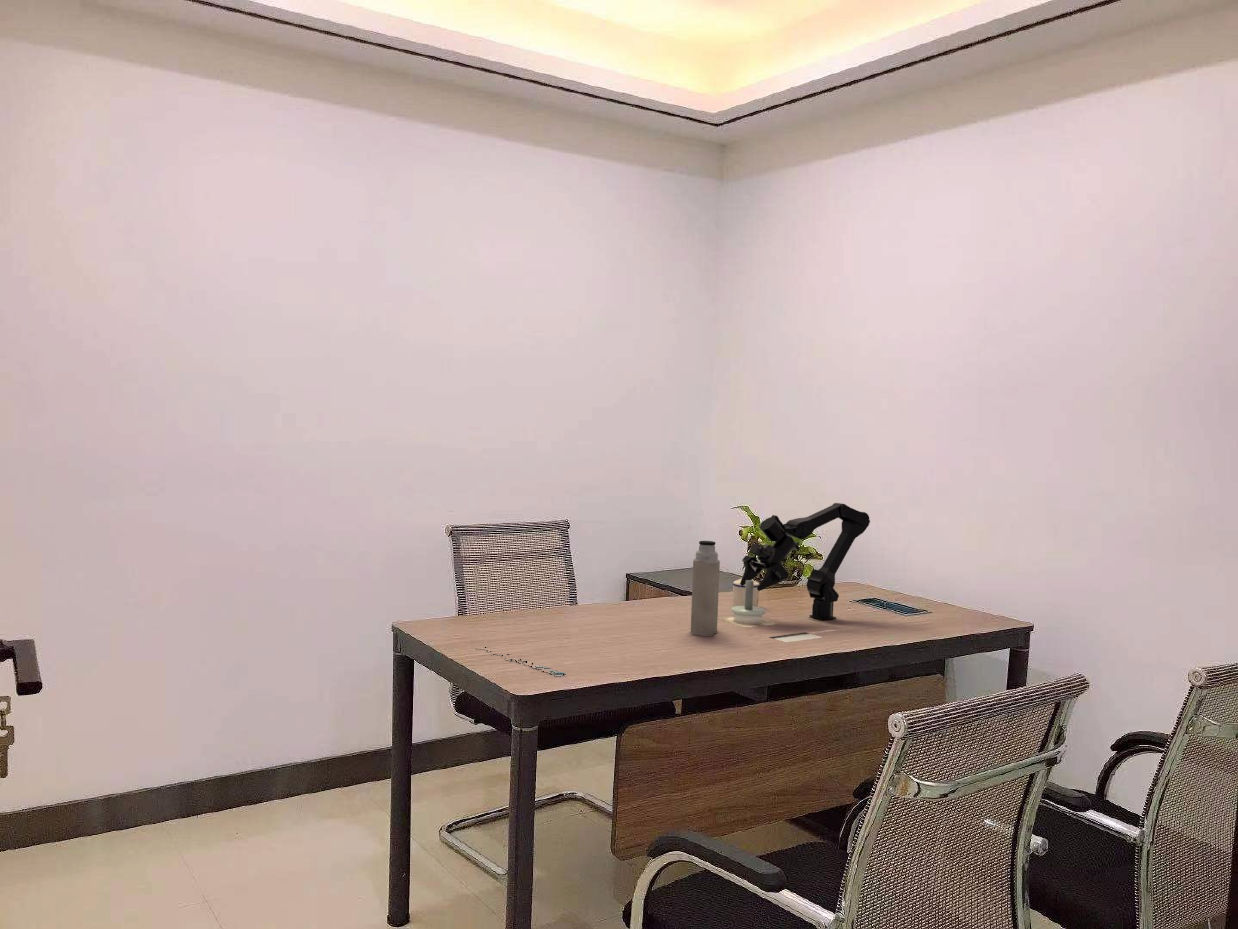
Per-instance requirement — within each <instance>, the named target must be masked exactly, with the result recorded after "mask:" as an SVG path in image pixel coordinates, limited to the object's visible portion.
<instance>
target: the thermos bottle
mask: <svg viewBox="0 0 1238 929" xmlns="http://www.w3.org/2000/svg"><path fill="white" fill-rule="evenodd" d="M698 544H699V546H698V550H697V551H696V552H695V555H694V556H695V558H693V562H692V580H691V582H692V587H691V614H690V633H691V635H694V634H695V635H694V636H699V637H712V636H714V635H716V634H717V632H718V619H719V618H718V613H719V612H718V611H719V592H720V590H719V589H720V588H719V587H720V567H721V564H720V563H721V562H720V561H721V560H719V559H718V556H719V554H718V552H717V551H716V541H712V540H700V541H698Z"/></svg>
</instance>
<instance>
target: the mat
mask: <svg viewBox="0 0 1238 929" xmlns="http://www.w3.org/2000/svg"><path fill="white" fill-rule="evenodd" d="M768 638H770V639H773V640H777V641H780V642H783V643H793V642H799V641H808V640H815V639H821V638H823V637H822V636H820V635H816V634H812V633H808V632H799V633H792V634H791V633H790V634H783V635H782V634H781V635H775V636H769V637H768Z"/></svg>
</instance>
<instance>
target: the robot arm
mask: <svg viewBox="0 0 1238 929" xmlns="http://www.w3.org/2000/svg"><path fill="white" fill-rule="evenodd" d="M836 519H839V520H841V531H840V534H839V536H838V537H837V539H836V541H835V543H834V544H833V546H832V548H831V550H830V552H829V554H828V555H827V557H826V559H825V560H824V562H823V564H822V566H821V567H820V568H819V569H815V568H813V569H812V570H811V571H810V572H811V573H810V574H809V576H808V577H807V578H806V580H807V582H806V585H805V586H806V589H807V591H808V594H809V598H812V599H813V600H812V601H813V602H812V610H811V612H812V613H811V614H809V618H813V619H818V620H820V619H821V621H827V619H828V620H835V619H837V616H834V603H835V602H837V601H839V600H838V599H839V597H840V595H839V593H838V592H837V591H836V589H835V584H836V573H837V571H838V570H839V568H840V566H841V564H842V563H843V561H844V559H845V558H846V555H847V554H848V552H849V551H850V548H851V547H852V545H853V543H854V541H855V540H856V539H857V537H859V536H861V535H862V534H864V533H865V531H866V530H867V528H868V527H869V526H870V524H871V520H870V516H869V514H868V513H867V512H866V511H859V510H856V509H855V508H852V507H850V506H848V505H847V504H845V503H841V502H834V503H833V504H831V505H829V506H828V507H825V508H824V509H821V510H819V511H817V512H815V513H813V514H811V515H808V516H805V517H798V518H793V519H790V520H788V521H787V522H786V523H783V522H782V521H781V520H780V518H779V516H778V515H776V514H773V515H772V516H770V517H767V518H766V519H764V520H763V521H762V522H760V525H759V529H760V531H761V532H762V533H763V534H764V536H765V537H766V538H767V539H768V540H769V542H773V544H772V545H770V544H768V543H765V544H764V545H763V544H759V543H756V542H752V544H751V547H750V548H749V551H748V553H750V554H753V555H755V556H756V557H755V556H753V555H745V556H744V557H743V558H742V559H741V562H743V565H744V571H743V573H742V574H743V575H742V577H741V578H742V580H741V582H740V585H741V586H743V585H745V584H746V580H752V579H753V580H754V579H755V578H757V577H758V576H759V574H760V573H761V572H762V571H766V574H765V575H764V576H763V579H762V580H761V581H760V582H759V586H758V587H757V590H758V591H759V592H760V591H762V590H765V589H768V588H769V587H771V586H773V585H776V584H780V583H783V582H786V581H787V580H788V579H789V578H790V572H789V571H788V570H787V569H786V567H785V566H784V565H783V564H785V563H786V562H787V559H786V558H787V557H788V556H789V555H790V553H791V552H792V551H798V552H799V551H800V545H799V544H800V543H799V542H798V541H796V540H795V539H797V540H805V539H807V538H808V537H809V536H811V535H812V534H813V532H814V530H816V529H817V528H820V527H822V526H824V525H825V524H828V523H830V522H833V521H834V520H836Z"/></svg>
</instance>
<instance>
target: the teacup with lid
mask: <svg viewBox="0 0 1238 929" xmlns="http://www.w3.org/2000/svg"><path fill="white" fill-rule="evenodd" d="M741 580H742V577H741V578H739V579H737V580H734V581H733V582H732V585H733V587H732V588H733V590H732V607H734V606H745V586H746V584H745V585H743V586H741V585H740V582H741ZM751 581H754V585H753V606H755V607H759V593H760V591H758V590H757V587H758V586H759V584H760V582H759V581H755V580H754V578H753V579H752V580H751Z"/></svg>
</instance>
